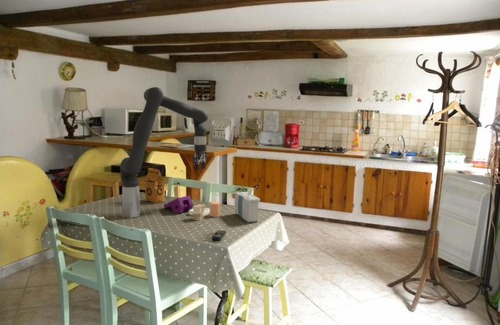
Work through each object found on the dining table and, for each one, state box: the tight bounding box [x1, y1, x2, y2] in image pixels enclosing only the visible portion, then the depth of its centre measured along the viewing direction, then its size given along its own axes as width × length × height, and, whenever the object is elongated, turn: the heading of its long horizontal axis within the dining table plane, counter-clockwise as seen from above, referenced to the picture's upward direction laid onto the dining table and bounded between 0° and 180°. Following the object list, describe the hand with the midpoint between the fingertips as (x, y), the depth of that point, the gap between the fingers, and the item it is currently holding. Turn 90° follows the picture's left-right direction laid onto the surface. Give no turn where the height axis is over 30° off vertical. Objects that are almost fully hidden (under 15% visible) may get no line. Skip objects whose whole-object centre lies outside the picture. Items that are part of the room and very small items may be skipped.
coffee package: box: [144, 167, 165, 204], centre depth 256 cm, size 10×12×22 cm
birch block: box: [192, 204, 205, 221], centre depth 218 cm, size 4×4×8 cm
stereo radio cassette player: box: [234, 185, 261, 223], centre depth 222 cm, size 21×8×20 cm, turn 21°
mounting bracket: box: [163, 195, 194, 215], centre depth 236 cm, size 9×8×18 cm
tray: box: [188, 207, 211, 217], centre depth 229 cm, size 9×9×3 cm
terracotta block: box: [209, 201, 222, 218], centre depth 226 cm, size 4×4×8 cm
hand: (200, 169), depth 244 cm, fingers open, 8 cm apart
